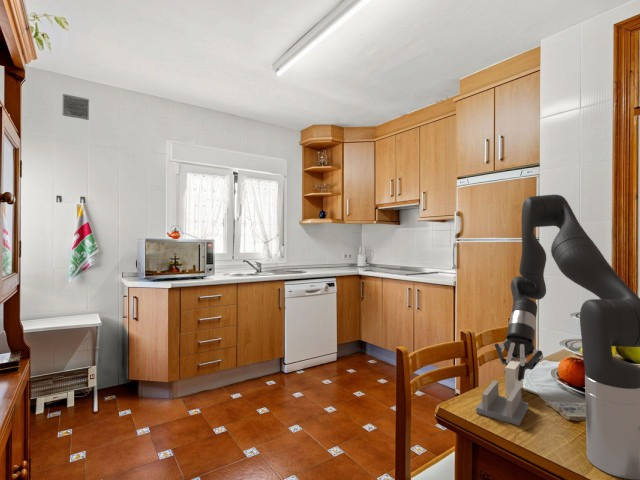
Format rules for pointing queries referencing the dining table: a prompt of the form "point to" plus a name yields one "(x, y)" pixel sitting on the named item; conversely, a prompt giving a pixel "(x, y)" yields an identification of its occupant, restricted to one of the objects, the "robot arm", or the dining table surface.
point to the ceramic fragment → (570, 409)
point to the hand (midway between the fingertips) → (513, 378)
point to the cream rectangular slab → (512, 376)
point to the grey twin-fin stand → (502, 405)
